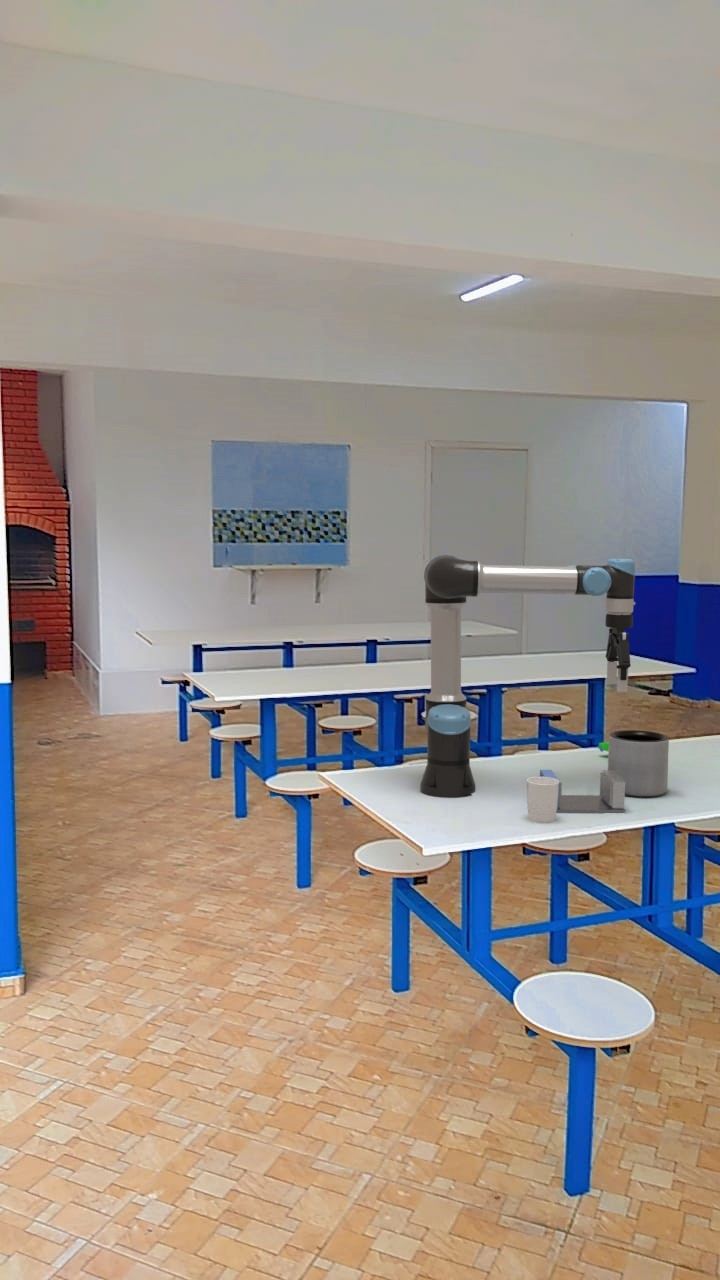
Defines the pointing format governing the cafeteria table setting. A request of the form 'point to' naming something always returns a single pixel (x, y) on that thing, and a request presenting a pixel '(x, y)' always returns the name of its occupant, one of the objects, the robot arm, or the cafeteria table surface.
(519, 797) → the cafeteria table surface
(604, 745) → the toy car
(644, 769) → the planter
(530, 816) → the white cup
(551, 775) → the sliding jaw
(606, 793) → the fixed jaw
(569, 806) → the vise bed
